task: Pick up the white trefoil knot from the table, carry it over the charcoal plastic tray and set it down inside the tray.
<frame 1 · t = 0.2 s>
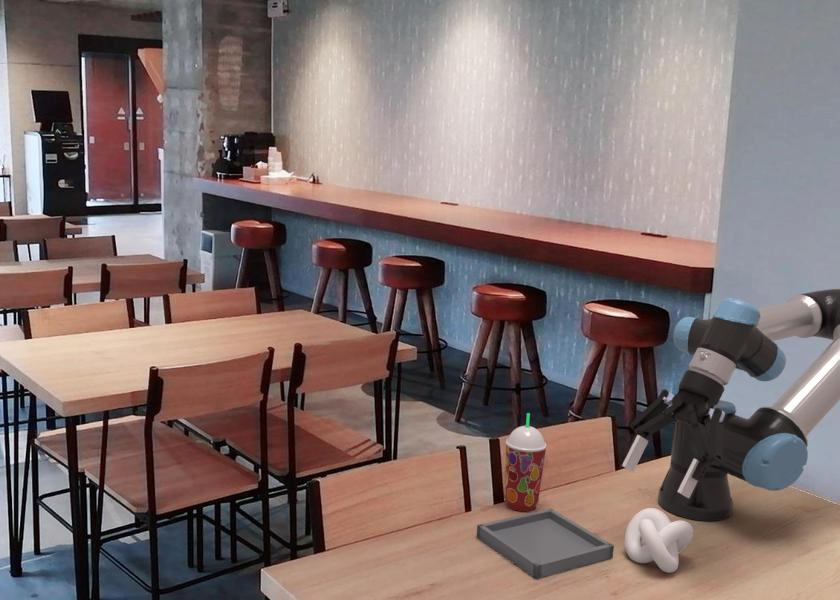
hand: (654, 481, 163), 15 cm above the table, tool tilted 30°, fingers open, 13 cm apart
white trefoil knot: (659, 563, 166), on the table
tray: (543, 547, 169), on the table
smoothie: (521, 506, 188), on the table
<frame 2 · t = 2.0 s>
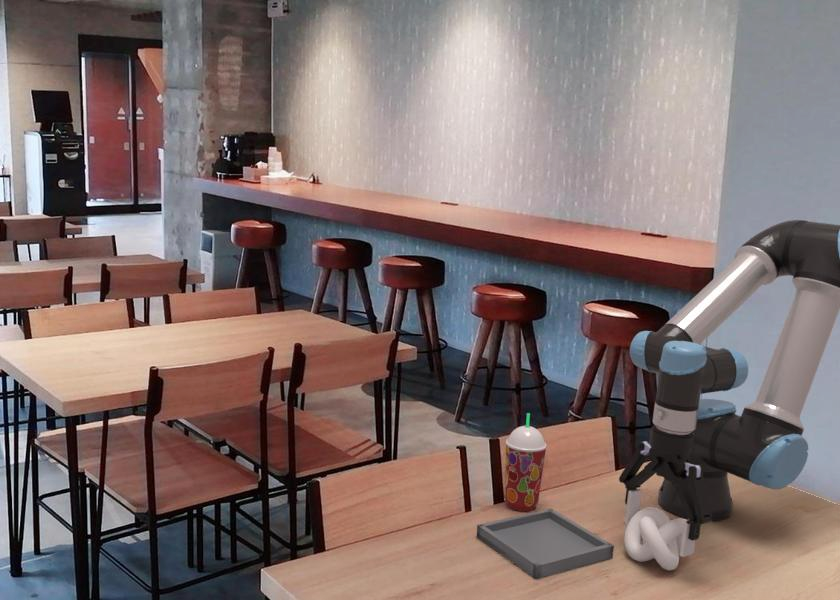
hand: (657, 538, 165), 4 cm above the table, tool pointing down, fingers open, 13 cm apart
nothing on the table moved.
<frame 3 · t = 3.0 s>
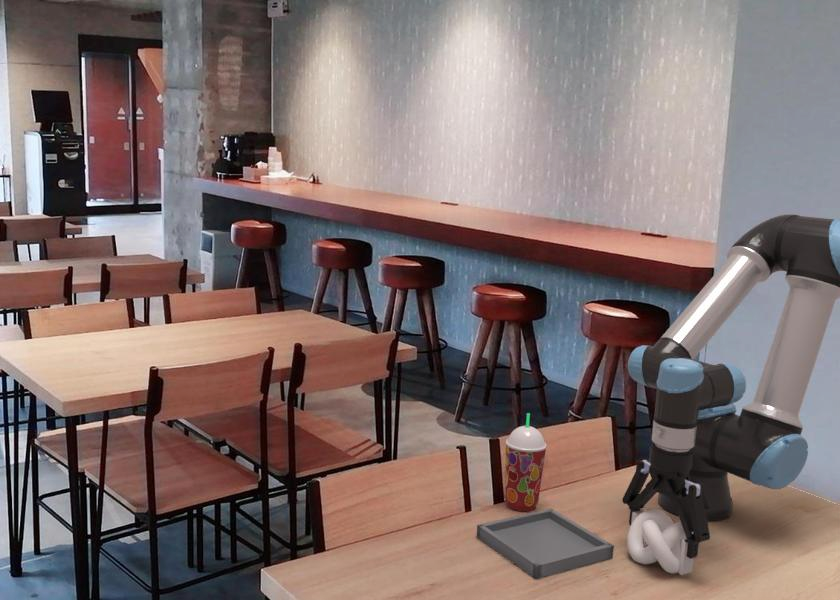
hand: (659, 557, 166), 1 cm above the table, tool pointing down, fingers closed on white trefoil knot, 12 cm apart
white trefoil knot: (662, 564, 166), on the table, touching gripper
everything else where it was.
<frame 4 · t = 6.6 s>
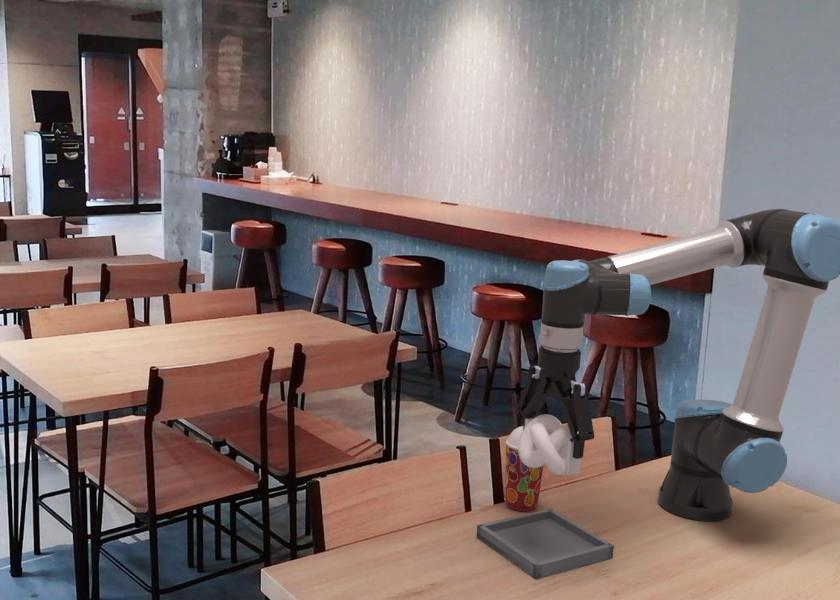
hand: (550, 462, 166), 17 cm above the table, tool pointing down, fingers closed on white trefoil knot, 12 cm apart
white trefoil knot: (552, 468, 166), point 16 cm above the table, touching gripper
everything else where it was.
when the fingers open (3 cm above the table, at t = 10.0 s): white trefoil knot drops 1 cm, resting on tray.
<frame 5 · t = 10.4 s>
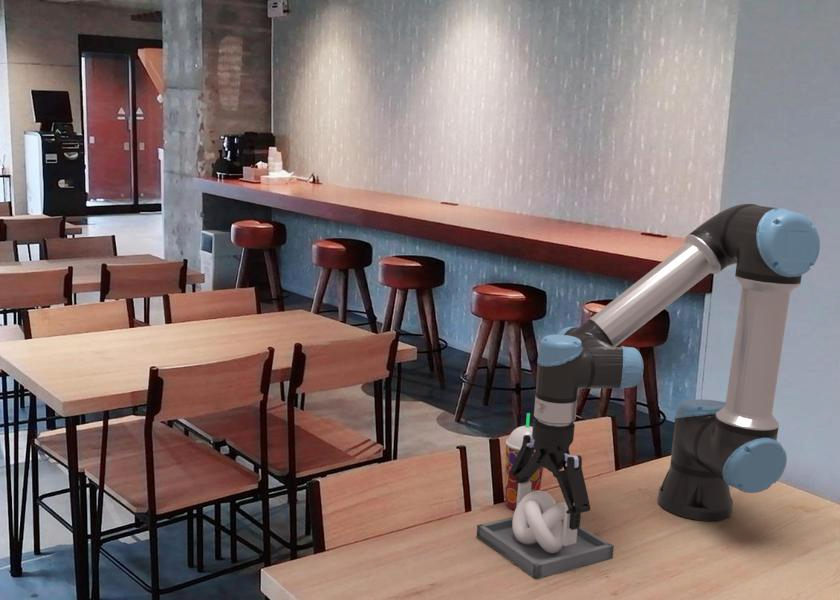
hand: (544, 529, 169), 4 cm above the table, tool pointing down, fingers open, 13 cm apart
white trefoil knot: (545, 544, 169), point 1 cm above the table, touching tray
everything else where it was.
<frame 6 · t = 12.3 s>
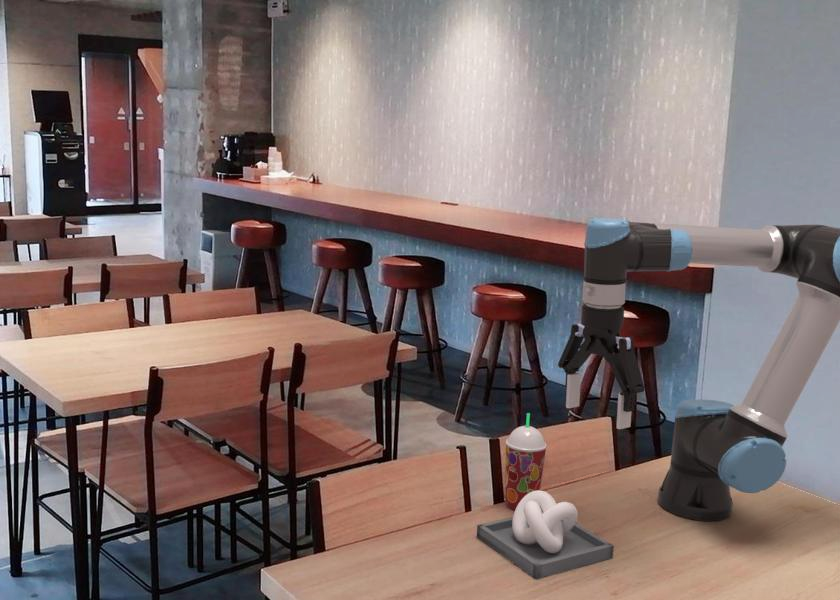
hand: (597, 417, 167), 25 cm above the table, tool pointing down, fingers open, 13 cm apart
nothing on the table moved.
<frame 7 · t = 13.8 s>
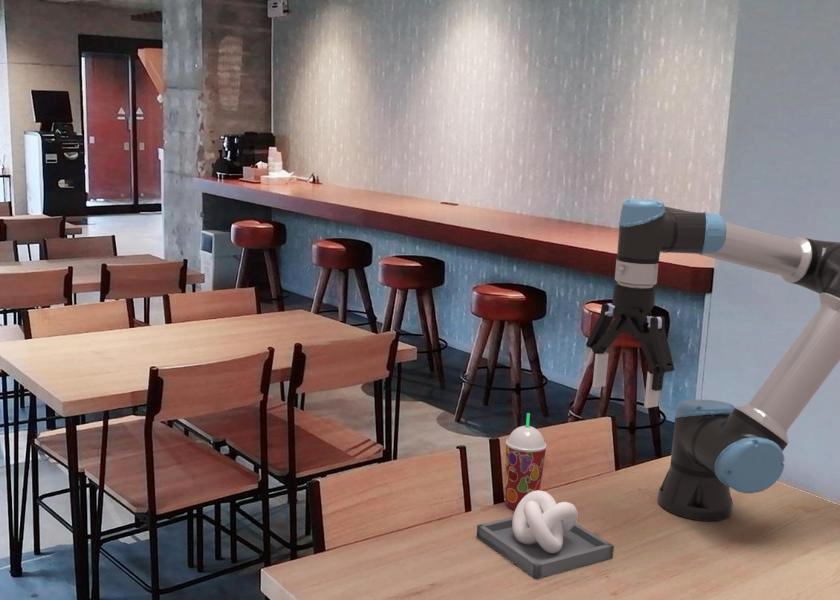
hand: (624, 396, 169), 29 cm above the table, tool pointing down, fingers open, 13 cm apart
nothing on the table moved.
at the end: white trefoil knot inside the target area on the tray (0.5 cm from its centre), point 0.8 cm above the tray's base; the gripper is holding nothing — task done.
